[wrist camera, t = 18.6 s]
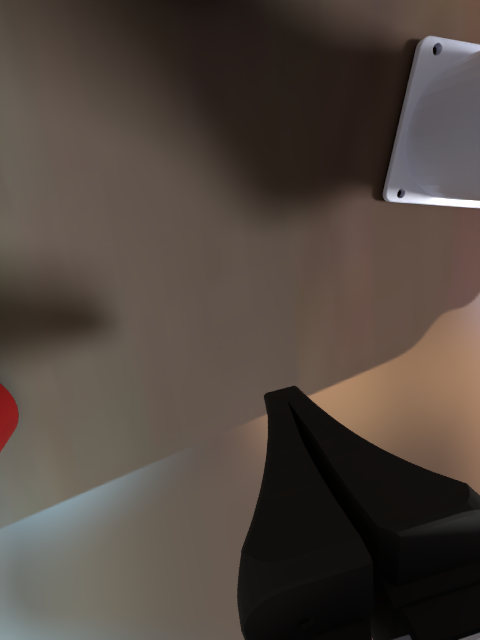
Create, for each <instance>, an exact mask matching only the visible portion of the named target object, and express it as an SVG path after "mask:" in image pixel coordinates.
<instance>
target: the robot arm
mask: <svg viewBox="0 0 480 640" xmlns="http://www.w3.org/2000/svg"><path fill="white" fill-rule="evenodd" d="M434 46H435V47H436V55H434V54H433V47H434ZM399 190H401V195H400V196H399V197H397V193H398V191H399ZM383 198H384V200H385V201H388V202H399V203H413V204H427V205H441V206H455V207H468V208H480V45H479V44H473V43H468V42H462V41H457V40H451V39H446V38H440V37H435V36H427V37H426V38H424V39H422V40H421V41H420V42H419V43H418V45H417V47H416V51H415V55H414V59H413V64H412V68H411V72H410V77H409V81H408V85H407V90H406V94H405V99H404V103H403V107H402V112H401V116H400V120H399V125H398V129H397V133H396V138H395V142H394V146H393V151H392V155H391V160H390V164H389V168H388V173H387V177H386V181H385V186H384V190H383ZM264 400H265V405H266V410H267V415H268V442H267V454H266V462H265V469H264V474H263V480H262V484H261V489H260V493H259V497H258V501H257V505H256V508H255V512H254V516H253V519H252V522H251V525H250V528H249V531H248V533H247V536H246V539H245V542H244V545H243V547H242V551H241V559H240V567H239V576H238V588H237V590H238V591H237V599H238V600H237V601H238V611H239V618H240V624H241V631H242V634H243V636H244V639H245V640H372V638H373V640H480V495H479V494H477V493H476V492H475V491H474V490H473V489H472V488H471V487H470V486H469V485H468V484H466V483H463V482H460V481H458V480H454V479H452V478H449V477H446V476H443V475H440V474H437V473H434V472H432V471H429V470H427V469H424V468H422V467H420V466H417V465H415V464H412V463H410V462H408V461H405V460H403V459H401V458H399V457H397V456H395V455H393V454H391V453H389V452H387V451H385V450H383V449H381V448H379V447H377V446H375V445H374V444H372V443H370V442H368V441H367V440H365V439H363V438H361V437H360V436H358V435H357V434H355V433H354V432H352V431H351V430H349V429H348V428H346V427H345V426H344V425H342V424H341V423H339V422H338V421H336V420H335V419H334V418H332V417H331V416H330V415H328V414H327V413H326V412H325V411H324V410H322V409H321V408H320V407H318V406H317V405H316V404H315V403H314V402H313V401H312V400H311V399H309V398H308V397H307V396H306V395H305V394H304V393H303V392H302V391H301V390H300V389H299V388H298V387H296V386H291V387H288V388H284V389H280V390H276V391H272V392H269V393H266V394H265V395H264Z"/></svg>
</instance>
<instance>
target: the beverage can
mask: <svg viewBox="0 0 480 640" xmlns="http://www.w3.org/2000/svg"><path fill="white" fill-rule="evenodd" d="M18 416H19V415H18V408H17V405H16V402H15V400H14V398H13V397H12V395H11V394H10V393H9V391H8V390H7V389H6V388H5V387H4V386H3V385H1V384H0V452H1V450H2V449H3V447H4V446H5V444H6V443H7V441H8V440H9V438H10V437H11V435H12V433H13V432H14V430H15V428H16V426H17V423H18Z"/></svg>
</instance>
